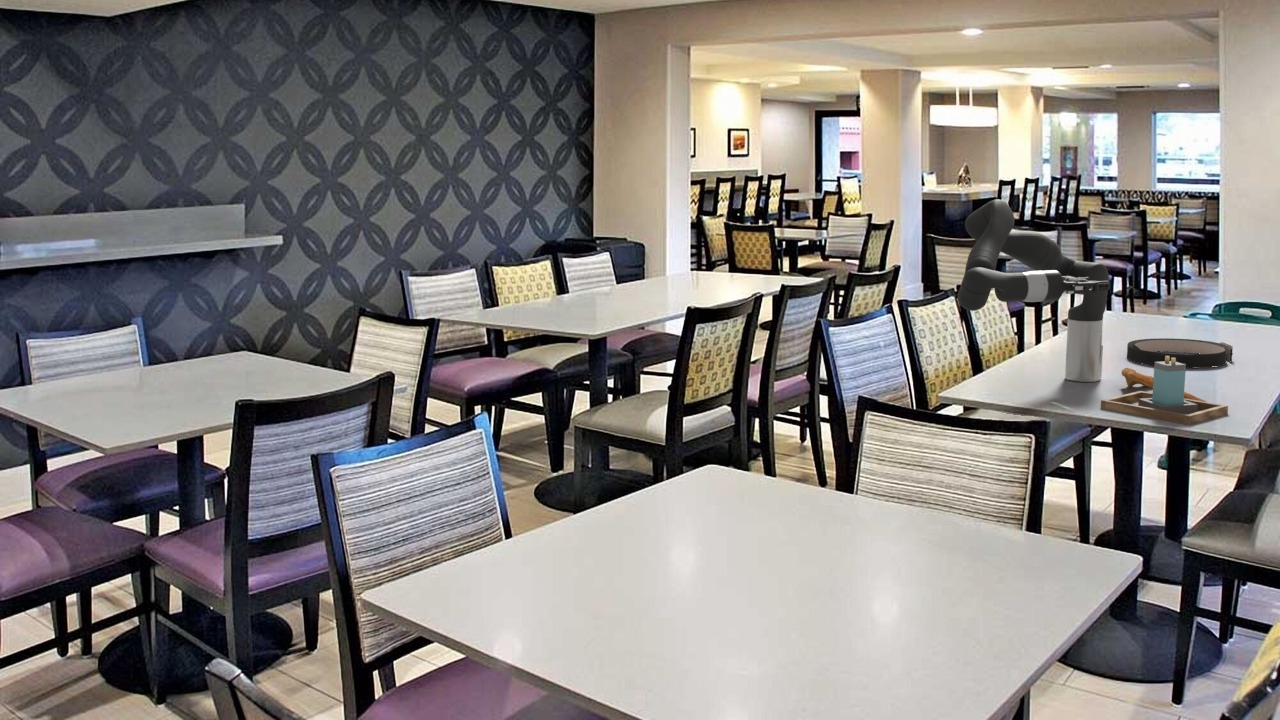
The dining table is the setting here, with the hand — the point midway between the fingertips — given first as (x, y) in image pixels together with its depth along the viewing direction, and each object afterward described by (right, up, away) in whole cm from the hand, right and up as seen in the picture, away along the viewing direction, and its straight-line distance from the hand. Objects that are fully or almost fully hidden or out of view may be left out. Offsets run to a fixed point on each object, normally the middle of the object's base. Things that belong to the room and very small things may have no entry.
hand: (1099, 283), depth 280 cm
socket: (+17, -31, +1) cm, 36 cm away
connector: (+17, -31, +1) cm, 36 cm away
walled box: (+16, -32, +2) cm, 36 cm away
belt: (+53, -19, +70) cm, 90 cm away
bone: (+23, -29, +19) cm, 42 cm away
